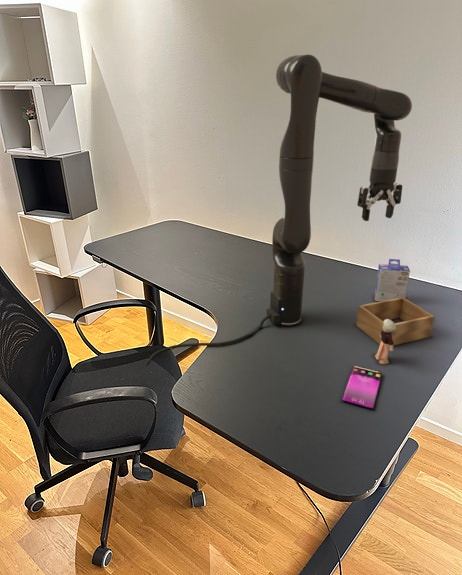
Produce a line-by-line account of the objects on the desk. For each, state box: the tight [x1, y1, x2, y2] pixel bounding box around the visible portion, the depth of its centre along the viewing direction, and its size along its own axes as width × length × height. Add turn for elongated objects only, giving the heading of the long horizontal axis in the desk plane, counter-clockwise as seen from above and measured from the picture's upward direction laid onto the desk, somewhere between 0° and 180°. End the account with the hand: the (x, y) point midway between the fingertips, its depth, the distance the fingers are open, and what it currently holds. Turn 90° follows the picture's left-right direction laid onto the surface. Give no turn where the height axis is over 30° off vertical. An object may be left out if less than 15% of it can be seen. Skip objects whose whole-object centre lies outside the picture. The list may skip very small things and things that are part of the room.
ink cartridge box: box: [374, 258, 411, 302], centre depth 151 cm, size 10×6×14 cm, turn 79°
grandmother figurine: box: [374, 319, 396, 365], centre depth 117 cm, size 8×4×13 cm, turn 15°
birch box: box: [355, 297, 435, 347], centre depth 133 cm, size 17×14×7 cm
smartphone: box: [341, 365, 383, 410], centre depth 109 cm, size 7×15×1 cm, turn 155°
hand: (376, 219), depth 138 cm, fingers open, 8 cm apart
